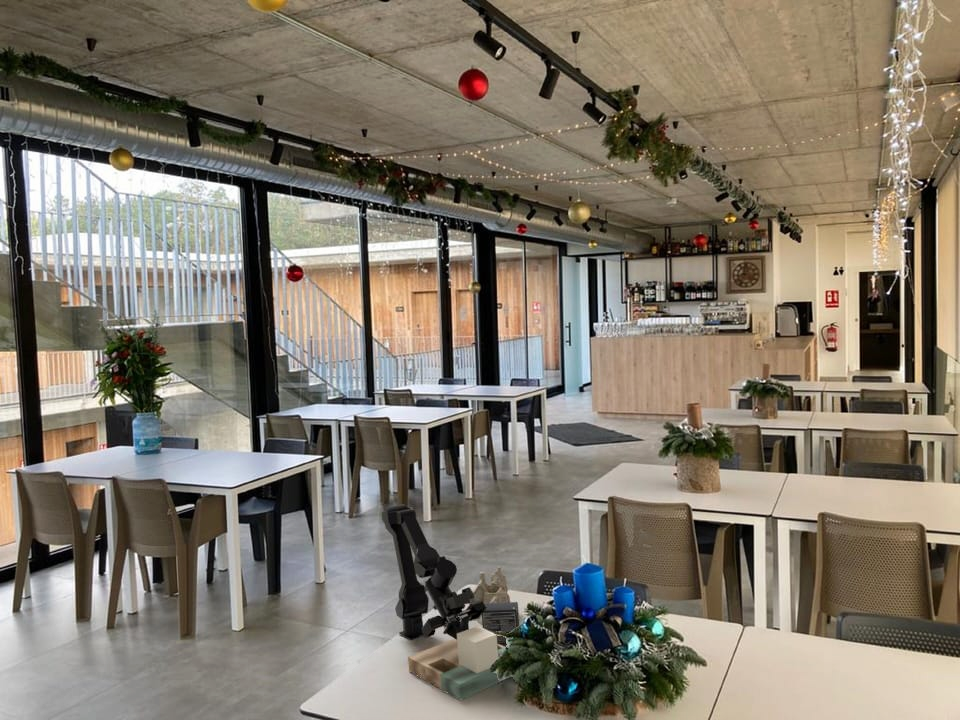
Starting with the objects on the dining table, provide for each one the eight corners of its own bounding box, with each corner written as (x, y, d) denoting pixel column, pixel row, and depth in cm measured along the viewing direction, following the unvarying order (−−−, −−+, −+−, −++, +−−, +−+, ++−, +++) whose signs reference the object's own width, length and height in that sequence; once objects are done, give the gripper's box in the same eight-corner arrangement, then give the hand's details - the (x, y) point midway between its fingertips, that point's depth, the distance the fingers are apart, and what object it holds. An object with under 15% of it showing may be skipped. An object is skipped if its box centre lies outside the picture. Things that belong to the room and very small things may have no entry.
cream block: (458, 663, 199) (456, 633, 199) (480, 655, 203) (478, 625, 203) (476, 673, 193) (474, 642, 192) (498, 664, 197) (496, 634, 197)
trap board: (408, 671, 206) (407, 656, 205) (472, 645, 219) (471, 631, 219) (460, 700, 188) (459, 684, 188) (526, 670, 202) (525, 655, 201)
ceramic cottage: (474, 604, 252) (472, 560, 250) (521, 610, 245) (519, 565, 244) (455, 625, 237) (452, 579, 235) (504, 632, 231) (502, 585, 229)
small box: (520, 635, 224) (518, 600, 224) (519, 645, 218) (517, 609, 217) (485, 636, 225) (482, 602, 225) (483, 646, 219) (480, 610, 218)
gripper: (424, 589, 199) (453, 642, 191) (479, 571, 211) (508, 620, 203) (410, 611, 206) (437, 663, 198) (464, 592, 217) (491, 641, 209)
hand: (469, 646), depth 202 cm, fingers closed, pressing on cream block
